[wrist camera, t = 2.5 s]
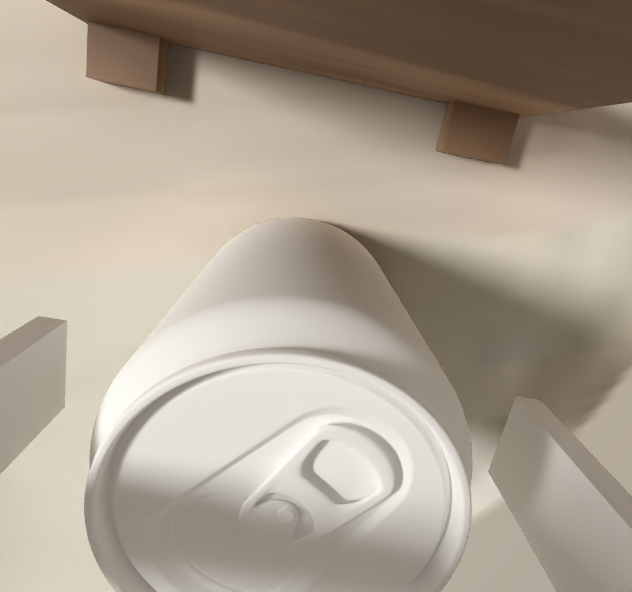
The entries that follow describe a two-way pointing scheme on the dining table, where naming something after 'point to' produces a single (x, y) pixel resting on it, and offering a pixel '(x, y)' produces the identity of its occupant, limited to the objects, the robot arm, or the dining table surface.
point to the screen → (391, 51)
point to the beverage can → (281, 433)
